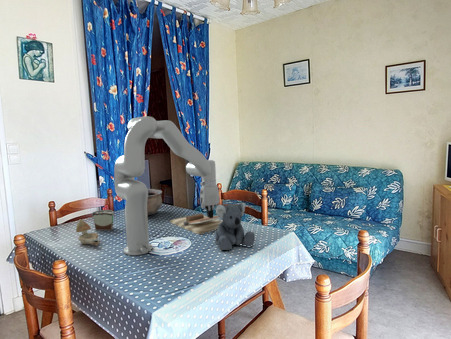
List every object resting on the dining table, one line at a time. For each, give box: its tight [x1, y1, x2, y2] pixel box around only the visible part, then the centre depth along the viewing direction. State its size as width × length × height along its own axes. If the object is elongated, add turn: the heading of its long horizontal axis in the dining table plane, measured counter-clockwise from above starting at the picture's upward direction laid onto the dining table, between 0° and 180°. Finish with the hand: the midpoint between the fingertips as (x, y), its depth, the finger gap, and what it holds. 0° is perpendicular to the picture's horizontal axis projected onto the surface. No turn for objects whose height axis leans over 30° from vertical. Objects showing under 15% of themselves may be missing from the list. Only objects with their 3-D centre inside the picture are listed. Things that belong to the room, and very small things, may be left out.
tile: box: [188, 215, 219, 224], centre depth 173 cm, size 13×14×2 cm
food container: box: [91, 209, 115, 231], centre depth 174 cm, size 12×6×10 cm, turn 84°
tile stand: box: [169, 213, 223, 235], centre depth 177 cm, size 30×20×4 cm, turn 39°
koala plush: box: [214, 202, 256, 251], centre depth 144 cm, size 17×18×20 cm
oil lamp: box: [75, 218, 101, 246], centre depth 151 cm, size 9×21×10 cm, turn 42°
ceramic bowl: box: [147, 188, 163, 216], centre depth 201 cm, size 22×22×15 cm
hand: (210, 217), depth 168 cm, fingers closed
